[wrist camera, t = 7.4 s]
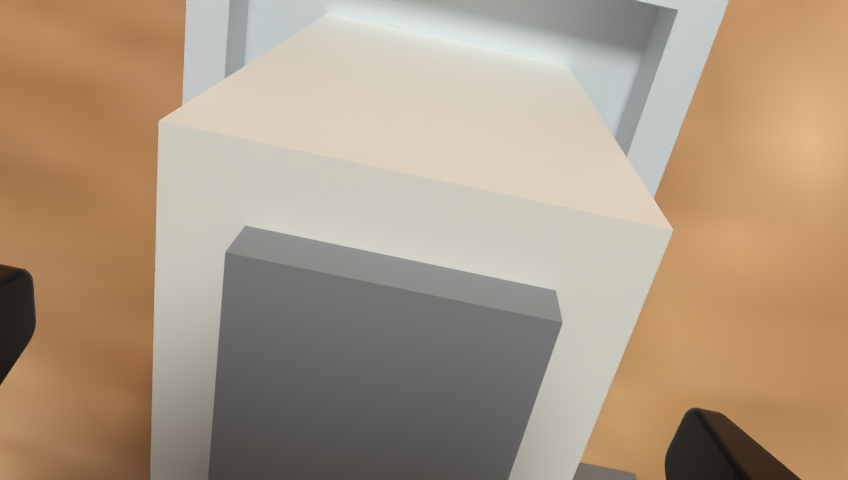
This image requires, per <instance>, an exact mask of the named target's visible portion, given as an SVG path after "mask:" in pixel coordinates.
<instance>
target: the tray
mask: <svg viewBox="0 0 848 480" xmlns="http://www.w3.org/2000/svg"><path fill="white" fill-rule="evenodd" d="M728 2H729V0H187V1H186V27H185V52H184V77H183V102H182V106H183V105H184V104H186V103H188V102H189V101H191V100H192V99H194V98H195V97H197V96H199V95H200V94H202V93H203V92H205V91H206V90H208V89H209V88H211V87H213V86H214V85H216V84H217V83H219V82H220V81H222V80H224V79H225V78H227V77H228V76H230V75H231V74H233V73H235V72H236V71H238V70H239V69H241V68H242V67H244V66H246V65H247V64H249V63H250V62H252V61H253V60H255V59H257V58H258V57H260V56H261V55H263V54H264V53H266V52H268V51H269V50H271V49H272V48H274V47H275V46H277V45H279V44H280V43H282V42H283V41H285V40H286V39H288V38H290V37H291V36H293V35H294V34H296V33H297V32H299V31H301V30H302V29H304V28H305V27H307V26H308V25H310V24H312V23H313V22H315V21H316V20H318V19H319V18H321V17H323V16H324V15H326V14H331V15H336V16H341V17H345V18H350V19H354V20H359V21H364V22H368V23H373V24H377V25H382V26H386V27H391V28H396V29H400V30H405V31H409V32H414V33H419V34H423V35H428V36H432V37H437V38H442V39H446V40H451V41H455V42H460V43H464V44H469V45H474V46H478V47H483V48H487V49H492V50H497V51H501V52H506V53H510V54H515V55H519V56H524V57H529V58H533V59H538V60H542V61H547V62H552V63H556V64H561V65H565V66H568V67H569V68H570V70H571V71H572V73H573V74H574V76H575V78H576V79H577V81H578V82H579V84H580V85H581V87H582V88H583V90H584V92H585V93H586V95H587V96H588V98H589V99H590V101H591V102H592V104H593V106H594V107H595V109H596V110H597V112H598V113H599V115H600V117H601V118H602V120H603V121H604V123H605V124H606V126H607V127H608V129H609V131H610V132H611V134H612V135H613V137H614V138H615V140H616V141H617V143H618V145H619V146H620V148H621V149H622V151H623V152H624V154H625V156H626V157H627V159H628V160H629V162H630V163H631V165H632V166H633V168H634V170H635V171H636V173H637V174H638V176H639V177H640V179H641V180H642V182H643V184H644V185H645V187H646V188H647V190H648V191H649V193H650V194H651V196H652V198H653V199H654V196H655V193H656V191H657V188H658V186H659V183H660V180H661V178H662V175H663V172H664V170H665V167H666V165H667V162H668V159H669V157H670V154H671V152H672V149H673V146H674V144H675V141H676V138H677V136H678V133H679V131H680V128H681V125H682V123H683V120H684V117H685V115H686V112H687V110H688V107H689V104H690V102H691V99H692V96H693V94H694V91H695V89H696V86H697V83H698V81H699V78H700V76H701V73H702V70H703V68H704V65H705V62H706V60H707V57H708V55H709V52H710V49H711V47H712V44H713V41H714V39H715V36H716V34H717V31H718V28H719V26H720V23H721V20H722V18H723V15H724V13H725V10H726V7H727V5H728Z"/></svg>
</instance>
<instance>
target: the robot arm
mask: <svg viewBox="0 0 848 480" xmlns="http://www.w3.org/2000/svg"><path fill="white" fill-rule="evenodd" d="M35 325H36V315H35V301H34V286H33V279H32V276H31V274H30V273H29V272H28V271H27V270H25V269H21V268H16V267H11V266H6V265H1V264H0V385H1V384H2V382H3V381H4V379H5V378H6V376H7V375H8V373H9V372H10V370H11V369H12V367H13V366H14V364H15V363H16V361H17V360H18V358H19V357H20V355H21V354H22V352H23V351H24V349H25V348H26V346H27V345H28V343H29V341H30V340H31V338H32V336H33V333H34V330H35ZM665 475H666V480H801V479H800V478H799V477H797V476H796V475H795V474H794V473H793V472H791V471H790V470H789V469H788V468H787V467H786V466H784V465H783V464H782V463H781V462H780V461H778V460H777V459H776V458H775V457H774V456H772V455H771V454H770V453H769V452H768V451H766V450H765V449H764V448H763V447H762V446H761V445H759V444H758V443H757V442H756V441H755V440H753V439H752V438H751V437H750V436H749V435H747V434H746V433H745V432H744V431H743V430H741V429H740V428H739V427H738V426H737V425H736V424H734V423H733V422H732V421H731V420H730V419H728V418H727V417H726V416H725V415H723V414H722V413H719V412H715V411H710V410H705V409H701V408H691V409H689V410H688V411H687V412H686V413H685V415H684V417H683V419H682V421H681V423H680V425H679V427H678V429H677V431H676V433H675V435H674V438H673V440H672V442H671V444H670V446H669V448H668V450H667V453H666V457H665Z"/></svg>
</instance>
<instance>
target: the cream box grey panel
mask: <svg viewBox="0 0 848 480" xmlns="http://www.w3.org/2000/svg"><path fill="white" fill-rule="evenodd" d="M672 232H673V229H672V227H671V226H670V224H669V223H668V221H667V219H666V218H665V216H664V215H663V213H662V212H661V210H660V209H659V207H658V205H657V204H656V202H655V201H654V199H653V198H652V196H651V194H650V193H649V191H648V190H647V188H646V187H645V185H644V184H643V182H642V180H641V179H640V177H639V176H638V174H637V173H636V171H635V170H634V168H633V166H632V165H631V163H630V162H629V160H628V159H627V157H626V156H625V154H624V152H623V151H622V149H621V148H620V146H619V145H618V143H617V141H616V140H615V138H614V137H613V135H612V134H611V132H610V131H609V129H608V127H607V126H606V124H605V123H604V121H603V120H602V118H601V117H600V115H599V113H598V112H597V110H596V109H595V107H594V106H593V104H592V102H591V101H590V99H589V98H588V96H587V95H586V93H585V92H584V90H583V88H582V87H581V85H580V84H579V82H578V81H577V79H576V78H575V76H574V74H573V73H572V71H571V70H570V68H569V67H568V66H565V65H561V64H556V63H552V62H547V61H542V60H538V59H533V58H529V57H524V56H519V55H515V54H510V53H506V52H501V51H497V50H492V49H487V48H483V47H478V46H474V45H469V44H464V43H460V42H455V41H451V40H446V39H442V38H437V37H432V36H428V35H423V34H419V33H414V32H409V31H405V30H400V29H396V28H391V27H386V26H382V25H377V24H373V23H368V22H364V21H359V20H354V19H350V18H345V17H341V16H336V15H331V14H326V15H324V16H323V17H321V18H319V19H318V20H316V21H315V22H313V23H312V24H310V25H308V26H307V27H305V28H304V29H302V30H301V31H299V32H297V33H296V34H294V35H293V36H291V37H290V38H288V39H286V40H285V41H283V42H282V43H280V44H279V45H277V46H275V47H274V48H272V49H271V50H269V51H268V52H266V53H264V54H263V55H261V56H260V57H258V58H257V59H255V60H253V61H252V62H250V63H249V64H247V65H246V66H244V67H242V68H241V69H239V70H238V71H236V72H235V73H233V74H231V75H230V76H228V77H227V78H225V79H224V80H222V81H220V82H219V83H217V84H216V85H214V86H213V87H211V88H209V89H208V90H206V91H205V92H203V93H202V94H200V95H199V96H197V97H195V98H194V99H192V100H191V101H189V102H188V103H186V104H184V105H183V106H181V107H180V108H178V109H177V110H175V111H173V112H172V113H170V114H169V115H167V116H166V117H164V118H162V119H161V120H159V131H158V173H157V215H156V257H155V299H154V341H153V383H152V425H151V467H150V480H572V479H573V477H574V474H575V472H576V470H577V467H578V465H579V462H580V460H581V457H582V455H583V452H584V450H585V447H586V445H587V442H588V440H589V437H590V435H591V433H592V430H593V428H594V425H595V423H596V420H597V418H598V415H599V413H600V410H601V408H602V405H603V403H604V400H605V398H606V395H607V393H608V391H609V388H610V386H611V383H612V381H613V378H614V376H615V373H616V371H617V368H618V366H619V363H620V361H621V358H622V356H623V353H624V351H625V349H626V346H627V344H628V341H629V339H630V336H631V334H632V331H633V329H634V326H635V324H636V321H637V319H638V316H639V314H640V311H641V309H642V307H643V304H644V302H645V299H646V297H647V294H648V292H649V289H650V287H651V284H652V282H653V279H654V277H655V274H656V272H657V270H658V267H659V265H660V262H661V260H662V257H663V255H664V252H665V250H666V247H667V245H668V242H669V240H670V237H671V235H672Z"/></svg>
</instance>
